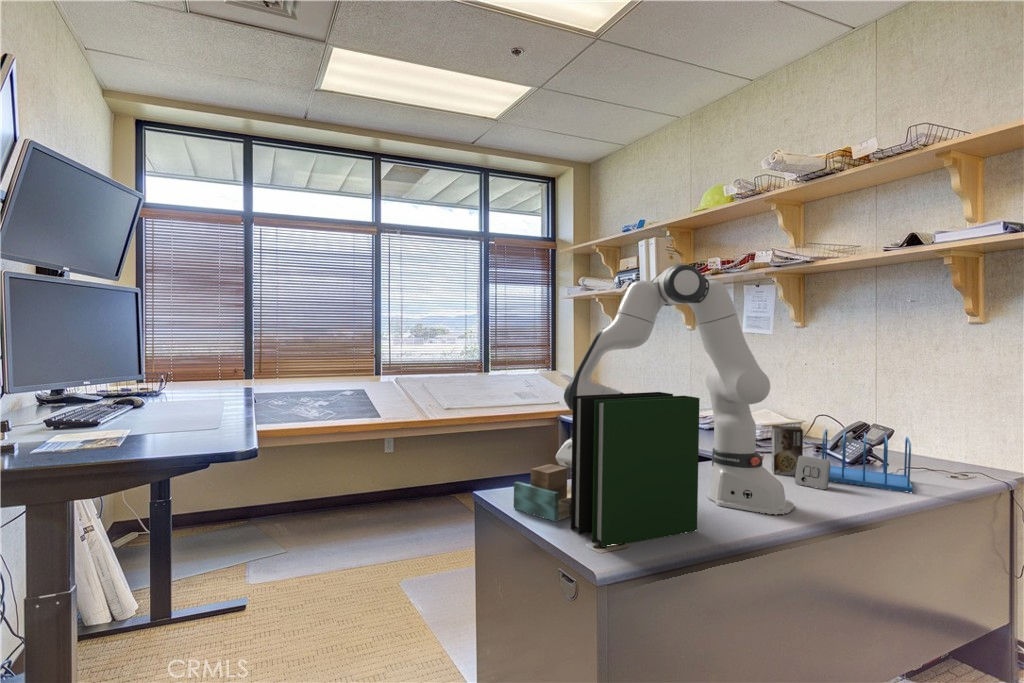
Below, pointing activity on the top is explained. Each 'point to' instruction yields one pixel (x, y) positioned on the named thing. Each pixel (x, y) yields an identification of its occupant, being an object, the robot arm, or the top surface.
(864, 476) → the file sorter
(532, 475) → the walnut block
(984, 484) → the top surface
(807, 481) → the electrical switch
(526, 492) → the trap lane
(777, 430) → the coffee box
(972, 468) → the top surface
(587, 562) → the top surface
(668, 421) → the binders
